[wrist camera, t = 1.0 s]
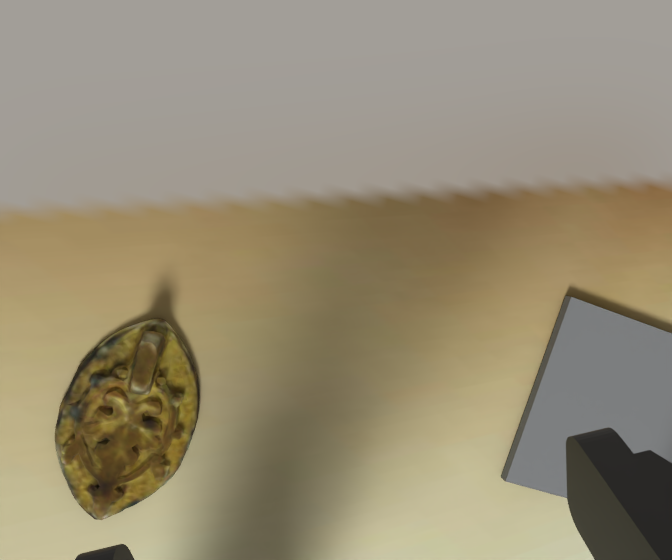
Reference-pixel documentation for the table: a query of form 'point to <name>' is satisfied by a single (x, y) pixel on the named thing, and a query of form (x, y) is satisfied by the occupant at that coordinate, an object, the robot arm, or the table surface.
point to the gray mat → (593, 393)
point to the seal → (127, 418)
